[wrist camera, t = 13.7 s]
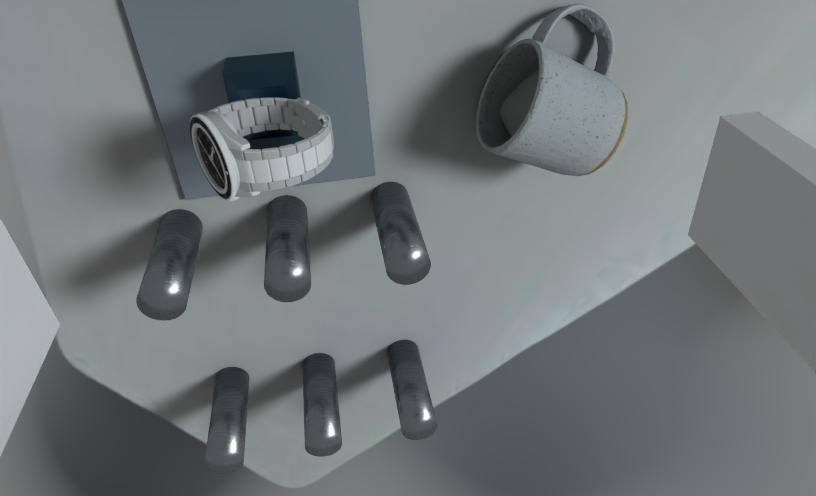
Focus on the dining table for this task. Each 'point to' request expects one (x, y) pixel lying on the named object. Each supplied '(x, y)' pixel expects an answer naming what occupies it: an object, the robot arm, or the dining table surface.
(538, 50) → the ceramic mug
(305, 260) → the post field
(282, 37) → the mat
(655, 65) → the dining table surface
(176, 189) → the dining table surface
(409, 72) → the dining table surface
